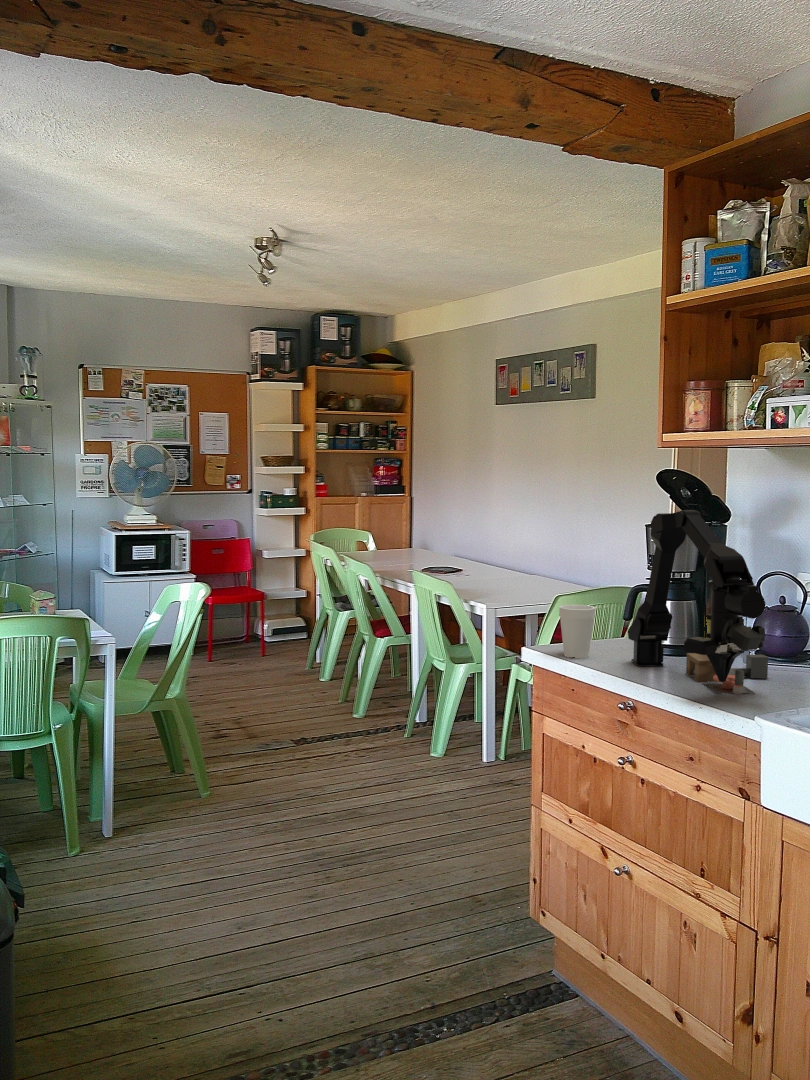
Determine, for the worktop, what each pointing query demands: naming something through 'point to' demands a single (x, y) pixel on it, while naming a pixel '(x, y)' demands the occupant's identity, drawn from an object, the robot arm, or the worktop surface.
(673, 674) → the worktop surface
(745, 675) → the bolt
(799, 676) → the worktop surface
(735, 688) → the brown square plate
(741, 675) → the handwheel
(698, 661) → the eye block
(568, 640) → the foam cup
